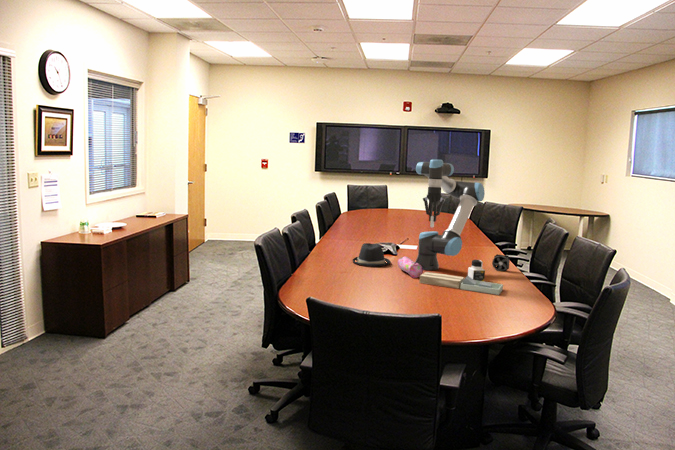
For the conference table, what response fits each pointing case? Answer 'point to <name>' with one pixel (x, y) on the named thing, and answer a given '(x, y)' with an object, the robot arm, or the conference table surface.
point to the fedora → (371, 256)
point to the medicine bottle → (476, 271)
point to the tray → (483, 288)
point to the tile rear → (469, 281)
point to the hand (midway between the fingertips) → (432, 227)
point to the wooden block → (441, 280)
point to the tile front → (485, 284)
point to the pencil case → (410, 267)
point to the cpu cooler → (501, 262)
